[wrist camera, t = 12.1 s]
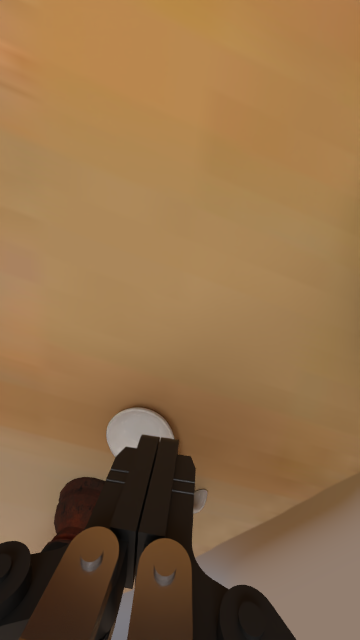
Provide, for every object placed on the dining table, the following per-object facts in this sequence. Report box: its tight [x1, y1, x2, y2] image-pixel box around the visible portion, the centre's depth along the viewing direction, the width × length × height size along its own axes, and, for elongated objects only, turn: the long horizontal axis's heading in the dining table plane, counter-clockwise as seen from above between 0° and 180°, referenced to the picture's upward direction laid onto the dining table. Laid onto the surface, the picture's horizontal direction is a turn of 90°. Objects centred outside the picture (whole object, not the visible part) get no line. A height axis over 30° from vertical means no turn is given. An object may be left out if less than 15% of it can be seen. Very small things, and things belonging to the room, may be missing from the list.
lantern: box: [41, 477, 105, 552], centre depth 40 cm, size 17×14×30 cm
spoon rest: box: [106, 407, 207, 514], centre depth 45 cm, size 24×12×7 cm, turn 35°
